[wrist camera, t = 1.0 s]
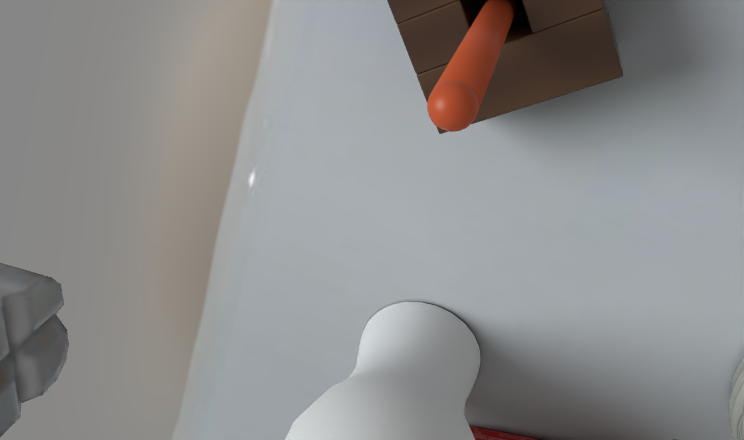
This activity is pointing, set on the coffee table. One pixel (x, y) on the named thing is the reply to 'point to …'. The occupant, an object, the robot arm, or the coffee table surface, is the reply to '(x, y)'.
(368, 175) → the coffee table surface
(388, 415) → the cup
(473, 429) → the candy bar
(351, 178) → the coffee table surface
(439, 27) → the brown wooden square block
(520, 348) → the coffee table surface
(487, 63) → the orange thin rod
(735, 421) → the jar
